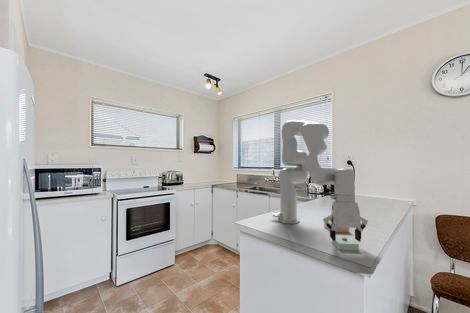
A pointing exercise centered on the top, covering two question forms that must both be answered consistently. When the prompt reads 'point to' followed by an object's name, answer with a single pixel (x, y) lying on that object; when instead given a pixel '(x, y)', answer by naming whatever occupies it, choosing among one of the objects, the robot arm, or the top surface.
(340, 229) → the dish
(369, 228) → the top surface
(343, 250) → the mat
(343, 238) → the green block with hole
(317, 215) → the top surface
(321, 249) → the top surface
